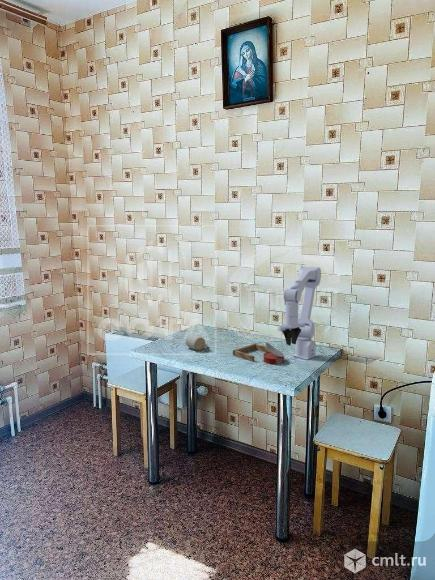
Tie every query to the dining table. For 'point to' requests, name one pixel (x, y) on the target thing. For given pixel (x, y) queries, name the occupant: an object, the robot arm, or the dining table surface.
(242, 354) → the brown wooden u-shaped piece
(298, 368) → the dining table surface
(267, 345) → the canned food
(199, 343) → the ceramic mug
